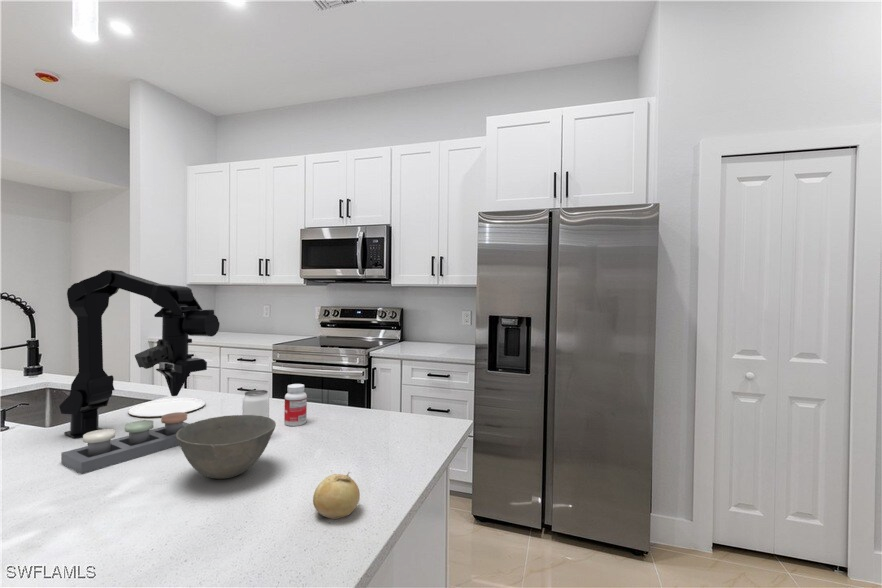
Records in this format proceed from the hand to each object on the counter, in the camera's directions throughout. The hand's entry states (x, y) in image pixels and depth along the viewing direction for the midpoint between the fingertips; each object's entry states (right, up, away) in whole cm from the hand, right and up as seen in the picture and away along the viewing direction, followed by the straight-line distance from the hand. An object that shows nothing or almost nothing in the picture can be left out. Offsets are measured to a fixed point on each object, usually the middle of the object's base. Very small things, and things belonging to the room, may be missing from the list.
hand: (174, 395), depth 108 cm
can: (+20, -12, +2) cm, 23 cm away
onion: (+50, -13, -33) cm, 61 cm away
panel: (-4, -11, -7) cm, 14 cm away
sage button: (-4, -9, -7) cm, 12 cm away
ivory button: (-8, -9, -14) cm, 18 cm away
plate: (-19, -11, +27) cm, 35 cm away
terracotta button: (0, -9, 0) cm, 9 cm away
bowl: (+23, -12, -19) cm, 33 cm away
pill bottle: (+26, -12, +15) cm, 32 cm away
